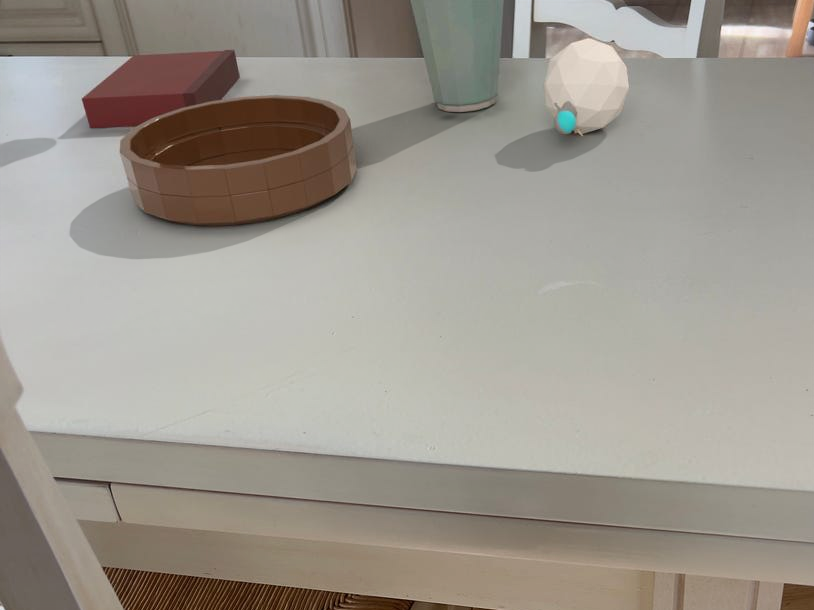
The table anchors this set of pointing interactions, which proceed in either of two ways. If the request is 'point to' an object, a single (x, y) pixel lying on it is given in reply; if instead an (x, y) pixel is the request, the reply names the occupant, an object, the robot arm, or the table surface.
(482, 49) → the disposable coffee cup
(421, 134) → the table surface
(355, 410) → the table surface
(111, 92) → the book
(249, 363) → the table surface
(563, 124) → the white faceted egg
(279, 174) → the bowl
